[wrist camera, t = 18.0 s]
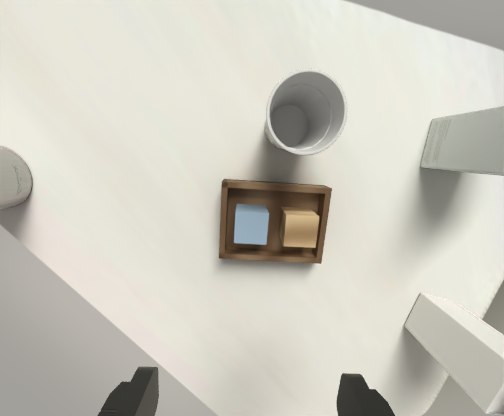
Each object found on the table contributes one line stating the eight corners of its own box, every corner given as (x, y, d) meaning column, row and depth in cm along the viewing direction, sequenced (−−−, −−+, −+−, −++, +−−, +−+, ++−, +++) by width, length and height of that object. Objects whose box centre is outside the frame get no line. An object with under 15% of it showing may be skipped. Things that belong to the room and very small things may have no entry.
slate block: (236, 203, 36) (235, 211, 31) (265, 205, 36) (269, 213, 31) (235, 231, 37) (233, 243, 32) (263, 233, 37) (266, 244, 32)
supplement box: (418, 167, 37) (506, 174, 24) (431, 117, 35) (532, 97, 23) (463, 173, 37) (572, 182, 25) (478, 123, 35) (603, 107, 23)
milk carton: (437, 333, 43) (580, 467, 25) (403, 325, 43) (522, 455, 24) (455, 301, 42) (620, 416, 24) (419, 291, 41) (560, 402, 23)
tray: (221, 249, 39) (219, 258, 35) (224, 179, 36) (222, 181, 33) (314, 254, 39) (321, 263, 36) (324, 185, 37) (331, 188, 33)
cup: (309, 93, 34) (343, 61, 22) (316, 149, 35) (350, 147, 24) (255, 103, 34) (260, 76, 22) (264, 159, 36) (273, 161, 24)
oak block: (281, 206, 36) (286, 214, 32) (309, 208, 37) (319, 216, 32) (278, 234, 37) (283, 246, 33) (306, 235, 38) (315, 247, 33)
